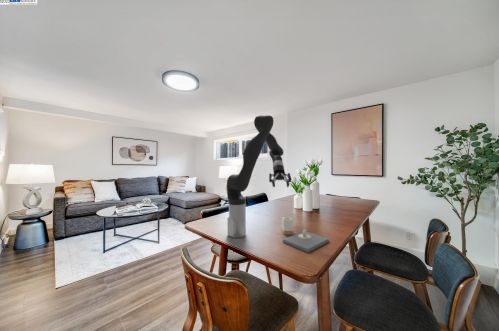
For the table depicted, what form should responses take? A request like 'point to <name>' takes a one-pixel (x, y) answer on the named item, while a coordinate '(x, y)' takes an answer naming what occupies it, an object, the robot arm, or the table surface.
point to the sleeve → (287, 225)
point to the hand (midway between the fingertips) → (281, 186)
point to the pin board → (306, 241)
